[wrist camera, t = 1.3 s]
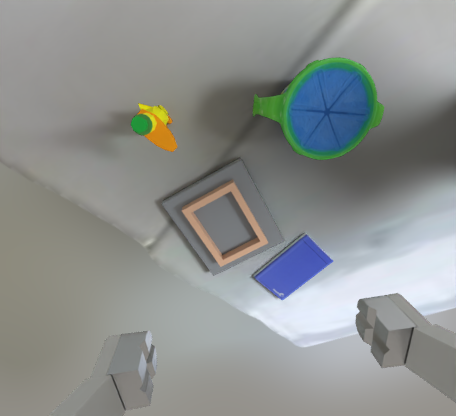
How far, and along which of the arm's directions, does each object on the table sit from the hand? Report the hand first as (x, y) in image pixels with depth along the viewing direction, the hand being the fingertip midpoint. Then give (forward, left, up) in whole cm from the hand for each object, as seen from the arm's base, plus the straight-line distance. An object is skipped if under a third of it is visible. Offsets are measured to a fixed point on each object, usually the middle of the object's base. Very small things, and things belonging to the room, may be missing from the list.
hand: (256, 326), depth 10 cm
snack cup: (-13, 0, -32) cm, 35 cm away
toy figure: (+5, -8, -32) cm, 34 cm away
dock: (+5, +10, -32) cm, 34 cm away
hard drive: (-1, +25, -33) cm, 41 cm away
